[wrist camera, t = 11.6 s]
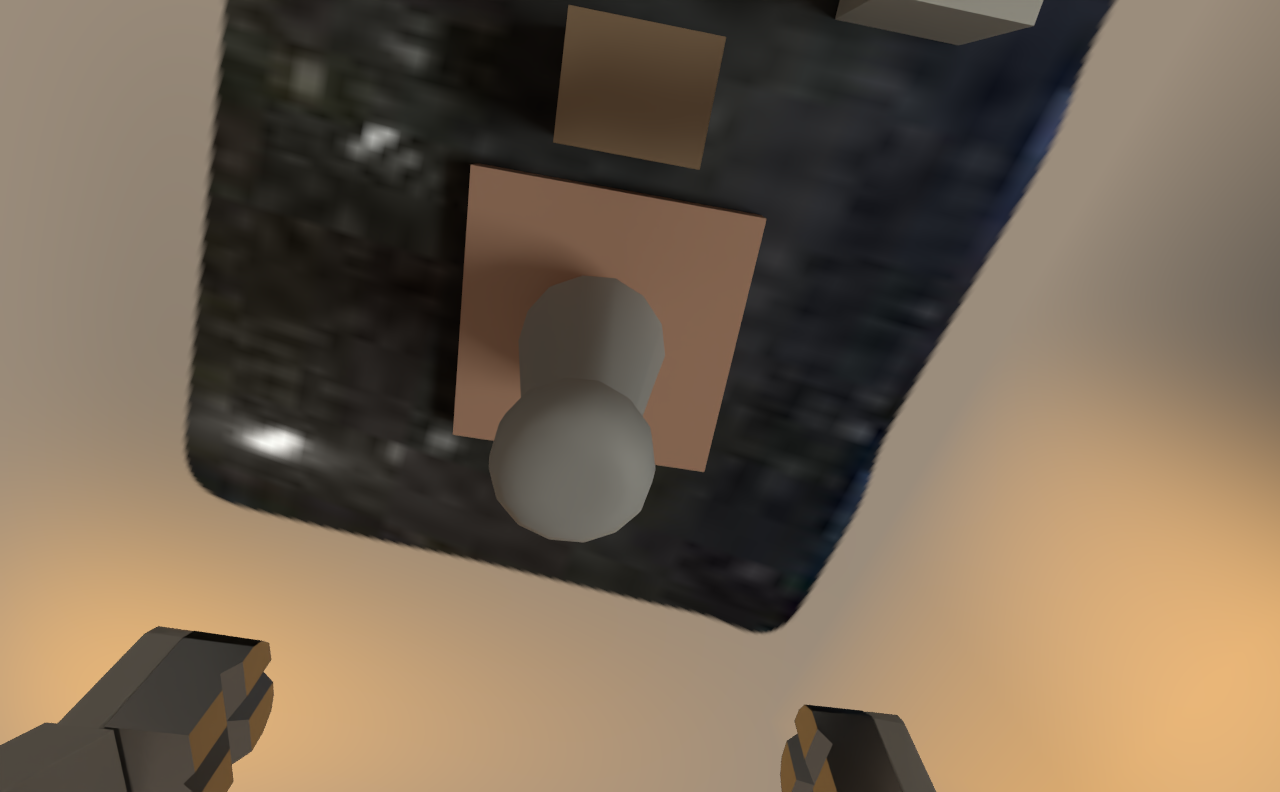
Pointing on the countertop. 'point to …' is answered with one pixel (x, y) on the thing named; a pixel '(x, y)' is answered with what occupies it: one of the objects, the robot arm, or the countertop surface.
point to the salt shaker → (580, 412)
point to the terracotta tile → (614, 248)
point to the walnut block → (636, 87)
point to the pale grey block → (942, 17)
